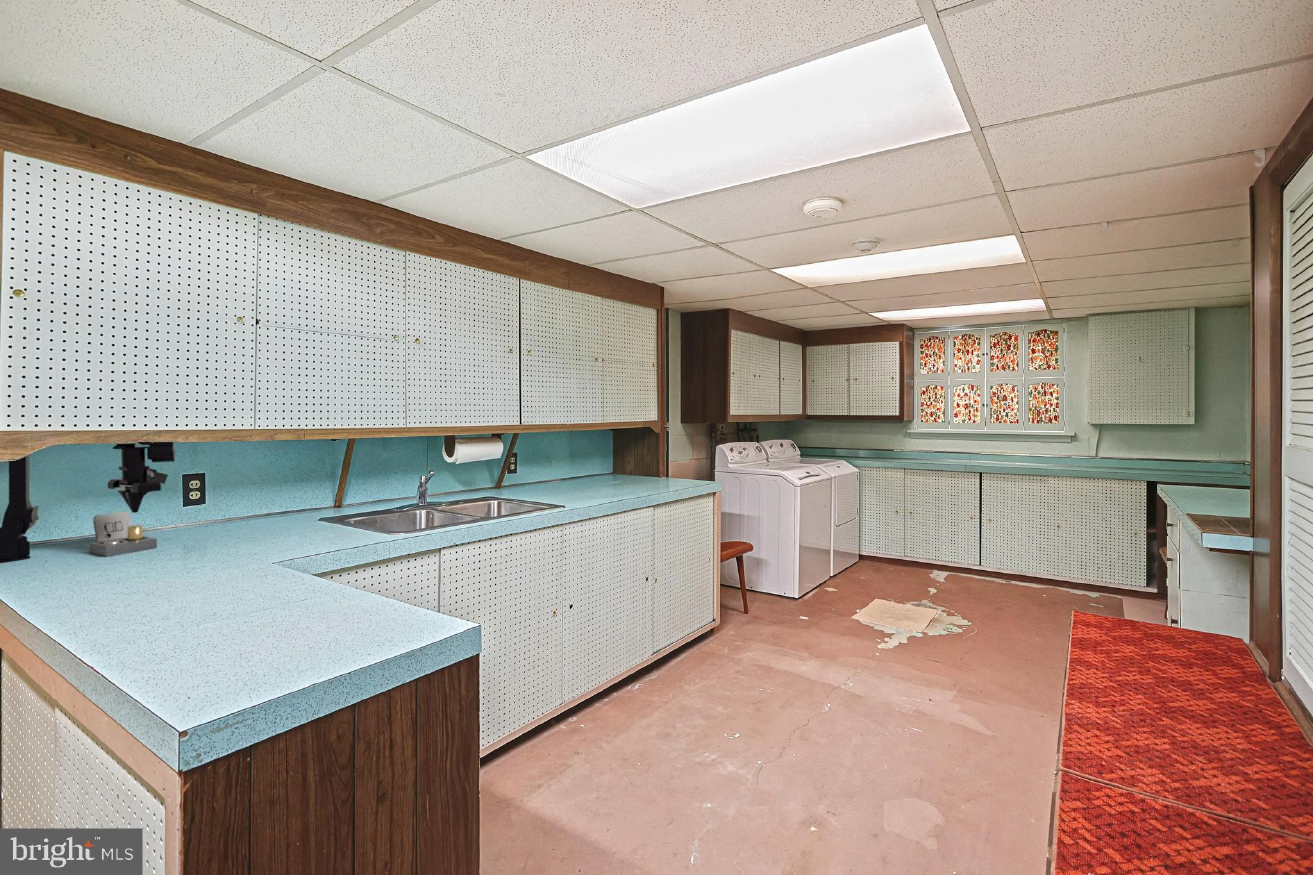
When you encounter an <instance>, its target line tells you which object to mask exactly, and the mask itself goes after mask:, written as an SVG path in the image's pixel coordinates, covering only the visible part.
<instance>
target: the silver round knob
mask: <svg viewBox="0 0 1313 875" xmlns="http://www.w3.org/2000/svg"><path fill="white" fill-rule="evenodd" d="M116 543H120V540H109V541H105V542H104V545H110V544H116Z"/></svg>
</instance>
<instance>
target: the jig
mask: <svg viewBox="0 0 1313 875" xmlns="http://www.w3.org/2000/svg"><path fill="white" fill-rule="evenodd" d="M142 538H143V539H141V540H135V541H128V537H125V538H118V539H112V540H120V543H116V544H110V545H104V542H105V541H109V540H105V541H99V542H97V541H93V542H89V543H88V546H89V554H93V555H98V556H102V557H106V558H107V557H113V556H119V555H124V554H130V553H137V552H142V551H147V550H148V551H149V550H154V549H157V548H158V539H157V538H155V537H152V536H151V537H149V536H147V535H146V536H145V535H142Z"/></svg>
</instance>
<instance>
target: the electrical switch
mask: <svg viewBox="0 0 1313 875" xmlns="http://www.w3.org/2000/svg"><path fill="white" fill-rule="evenodd" d="M130 515H131V514H130V512H129V511H122V512H121V511H120V512H113V513H104V514H103V513H102V514H95V515H94V516H93V519H92V521H93V526H94V527H93V528H94V535H95V542H99V541H105V540H112V539H118V538H125V537H127V527H129V526H132V521H131V516H130Z"/></svg>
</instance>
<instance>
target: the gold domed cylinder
mask: <svg viewBox="0 0 1313 875" xmlns="http://www.w3.org/2000/svg"><path fill="white" fill-rule="evenodd" d="M142 536H143V525H141V524H139V525H138V524H137V525H131V526H129V527H127V537H128V541H135V540H141V539H143V538H142Z"/></svg>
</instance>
